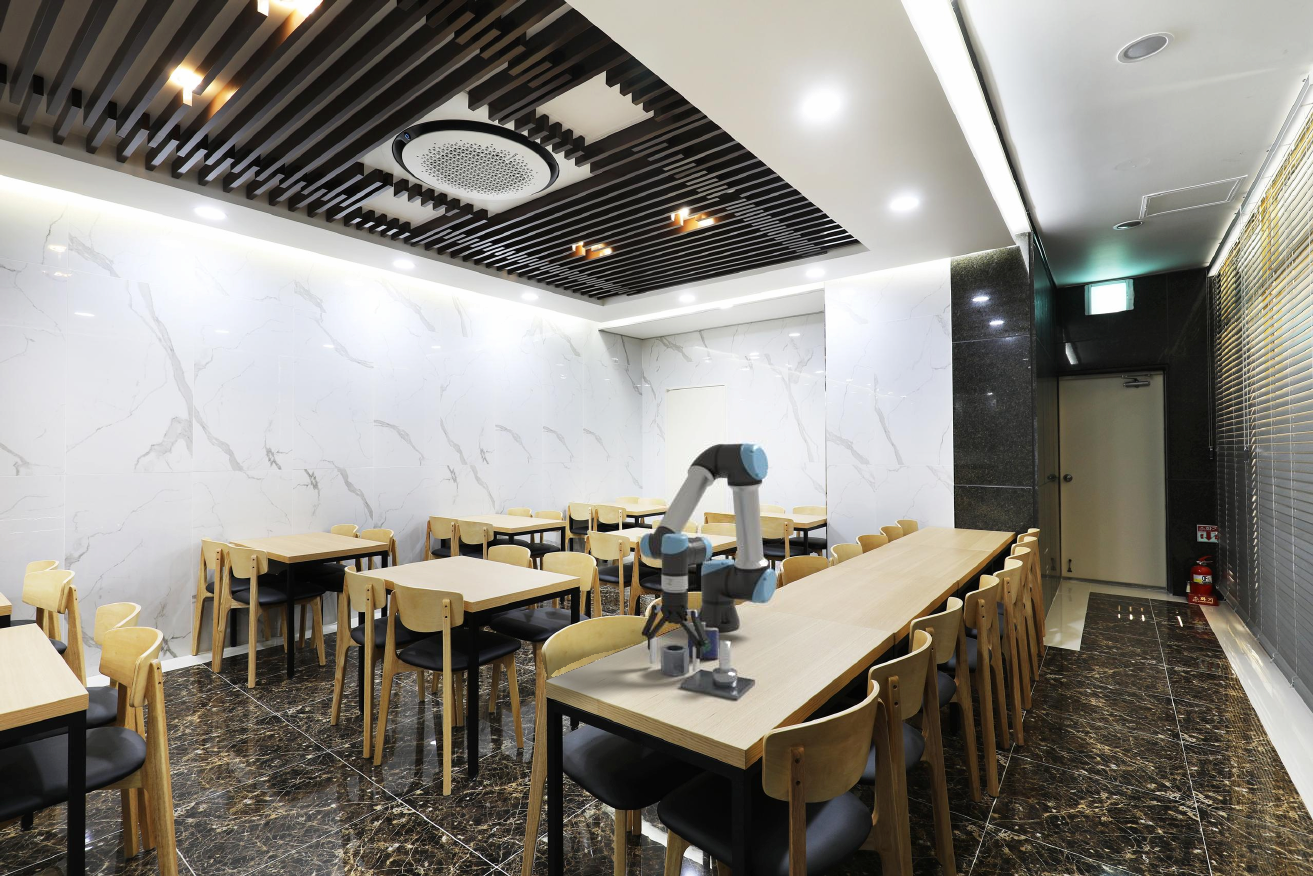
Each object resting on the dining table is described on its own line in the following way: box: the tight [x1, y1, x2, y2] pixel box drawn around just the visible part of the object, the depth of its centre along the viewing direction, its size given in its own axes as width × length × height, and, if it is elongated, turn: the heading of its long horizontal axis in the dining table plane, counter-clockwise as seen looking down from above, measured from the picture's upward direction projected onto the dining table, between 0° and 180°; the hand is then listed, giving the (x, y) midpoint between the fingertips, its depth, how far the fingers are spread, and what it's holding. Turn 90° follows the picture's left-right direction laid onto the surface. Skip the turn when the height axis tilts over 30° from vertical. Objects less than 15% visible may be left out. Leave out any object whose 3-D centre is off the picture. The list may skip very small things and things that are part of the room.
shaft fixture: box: [679, 639, 756, 701], centre depth 162 cm, size 12×16×12 cm
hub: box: [660, 643, 690, 678], centre depth 173 cm, size 7×7×6 cm
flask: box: [687, 622, 719, 661], centre depth 184 cm, size 9×3×11 cm, turn 78°
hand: (674, 666), depth 172 cm, fingers open, 13 cm apart
